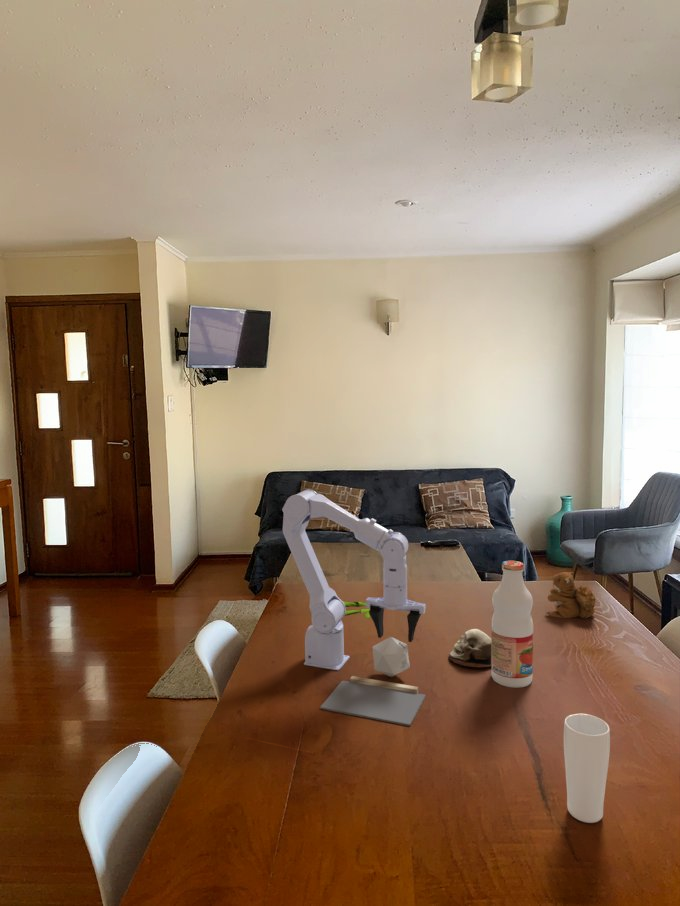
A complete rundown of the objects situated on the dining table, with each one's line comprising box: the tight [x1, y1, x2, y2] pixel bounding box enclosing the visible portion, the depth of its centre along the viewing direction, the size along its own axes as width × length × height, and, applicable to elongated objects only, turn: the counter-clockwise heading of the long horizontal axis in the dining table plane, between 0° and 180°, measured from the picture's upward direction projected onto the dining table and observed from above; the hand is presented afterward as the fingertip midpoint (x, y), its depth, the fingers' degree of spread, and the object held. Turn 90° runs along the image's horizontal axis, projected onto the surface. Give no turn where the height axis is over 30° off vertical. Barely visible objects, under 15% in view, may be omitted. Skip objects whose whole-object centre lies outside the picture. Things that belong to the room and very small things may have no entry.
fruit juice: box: [490, 560, 534, 689], centre depth 141 cm, size 9×9×28 cm
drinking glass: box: [563, 713, 611, 824], centre depth 96 cm, size 7×7×15 cm
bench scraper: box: [319, 680, 426, 727], centre depth 133 cm, size 20×13×1 cm, turn 68°
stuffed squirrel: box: [547, 571, 596, 619], centre depth 181 cm, size 10×14×13 cm
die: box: [372, 636, 411, 678], centre depth 144 cm, size 8×9×10 cm
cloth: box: [342, 600, 371, 619], centre depth 191 cm, size 20×22×2 cm
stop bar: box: [349, 675, 419, 694], centre depth 140 cm, size 16×1×1 cm, turn 68°
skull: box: [448, 628, 491, 668], centre depth 153 cm, size 12×10×10 cm
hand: (395, 638), depth 148 cm, fingers open, 7 cm apart
